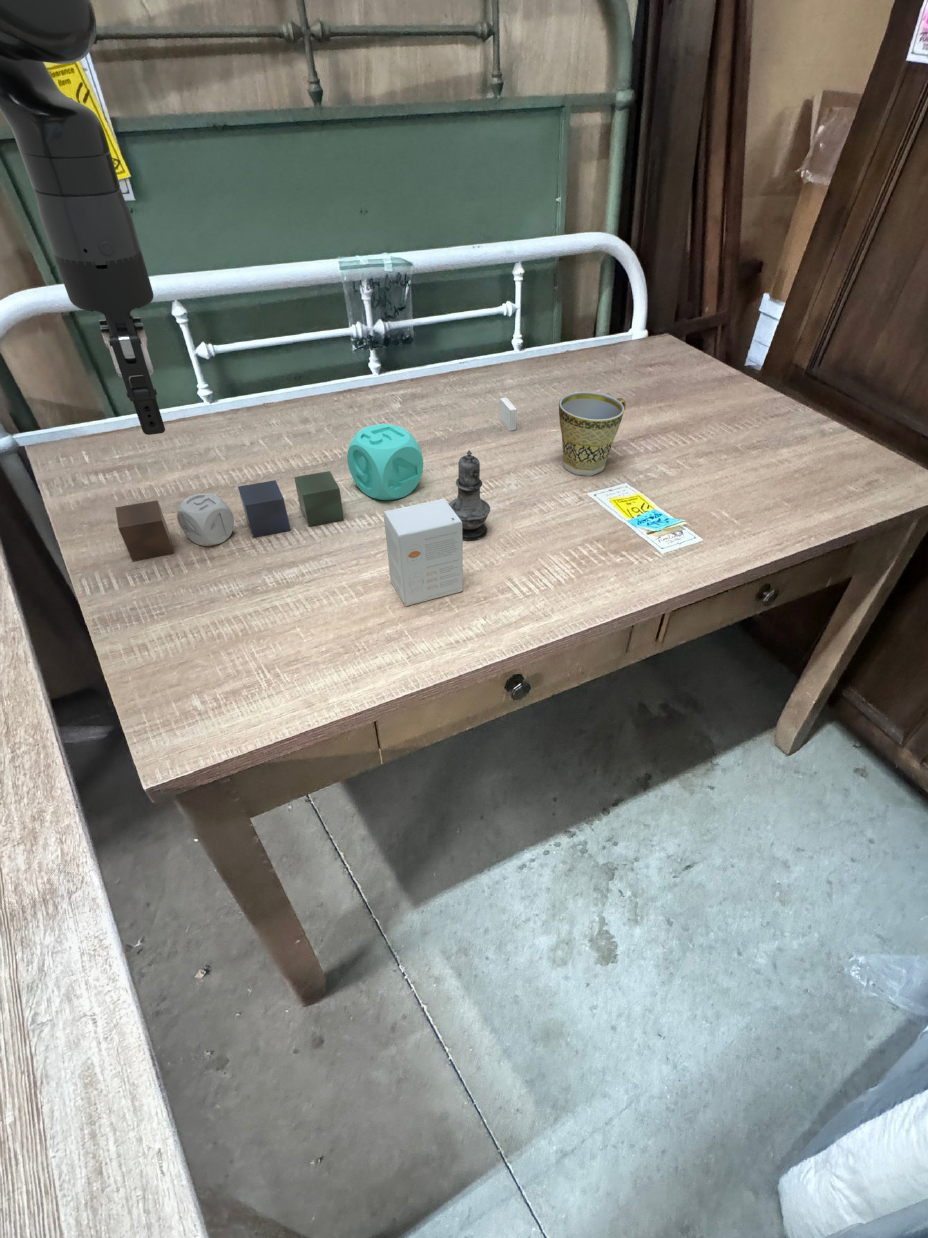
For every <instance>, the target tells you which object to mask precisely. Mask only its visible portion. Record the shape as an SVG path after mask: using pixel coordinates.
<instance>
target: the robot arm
mask: <svg viewBox="0 0 928 1238" xmlns="http://www.w3.org/2000/svg"><path fill="white" fill-rule="evenodd" d="M96 36H97V18H96V12H95V9H94V5H93V2H92V0H0V112H1V114H2V115H3V117H4V119H5V121H6V122H7V124H8V125H9V128H10V129H11V131H12V134H13V137H14V139H15V143H16V145H17V148H18V151H19V154H20V157H21V159H22V160H21V161H22V162H23V165H24V168H25V171H26V173H27V177H28V179H29V182H30V184H31V188H32V190H33V194H34V197H35V200H36V204H37V210H38V214H39V218H40V221H41V224H42V227H43V230H44V233H45V236H46V238H47V240H48V241H47V242H48V244H49V246H50V249H51V252H52V255H53V258H54V261H55V263H56V266H57V269H58V271H59V274H60V277H61V279H62V282H63V285H64V288H65V291H66V294H67V297H68V299H69V302H70V303H71V304H72V305H73V306H75V307H76V308H78V309H79V310H82V311H87V312H91V313H93V312H98V313H101V314H103V316H104V318H105V319H98V324H99V327H100V328H99V330H100V333H101V337H102V339H103V342H104V345H105V347H106V348H107V349H108V350H109V353H110V356H111V359H112V362H113V365H114V369H115V372H116V374H117V376H118V377H119V378H121V379H122V380H123V383H124V387H125V390H126V392H125V394H126V397H127V399H129V401H130V402H132V404H133V407H134V409H135V413H136V415H137V419H138V422H139V425H140V427H141V430H142V432H143V434H144V435H147V436H151V435H158V434H164V433H165V431H166V427H165V424H164V420H163V417H162V414H161V411H160V408H159V404H158V401H157V399H158V398H157V395H158V392H157V389H156V388H155V387H154V384H153V381H152V378H151V377H152V375H153V374H154V373H155V370H154V369H155V368H154V367H153V363H152V360H151V356H150V353H149V349H148V345H149V341H148V337H147V334H146V331H145V327H144V324H143V321H142V317H140V316H138V317H137V316H136V317H134V316H133V313H132V311H133V310H136V309H142V308H145V307H147V306H148V305H150V304H151V302H153V300H154V291H153V287H152V283H151V280H150V276H149V273H148V269H147V266H146V262H145V258H144V255H143V252H142V248H141V244H140V241H139V238H138V237H139V236H138V233H137V230H136V227H135V224H134V221H133V217H132V215H131V211H130V210H129V207H128V204H127V202H126V200H125V197H124V194H123V191H122V188H121V184H120V181H119V178H118V173H117V170H116V168H115V163H114V159H113V156H112V152H111V149H110V146H109V142H108V139H107V135H106V132H105V130H104V127H103V124H102V122H101V120H100V118H99V117H98V115H97V114H96V113H95V111H93V110H92V109H91V108H90V107H88V106H86V105H84V104H83V103H80V102H79V101H77V100H74V99H72V98H71V97H69V96H68V95H66V94H65V93H63V92H62V91H61V89H59V87H58V85H57V84H56V82H55V80H54V79H53V77H52V75H51V73H50V71H49V70H48V68H47V66H46V64H45V63H50V64H57V65H69V64H74V63H77V62H79V61H81V60H83V59H85V58H86V57H87V56H88V55H89V54H90V51H91V50H92V49H93V46H94V44H95V41H96Z"/></svg>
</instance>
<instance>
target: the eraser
mask: <svg viewBox="0 0 928 1238" xmlns="http://www.w3.org/2000/svg"><path fill="white" fill-rule="evenodd" d="M498 412H499V413H498V415H499V417H498V418H499V420H500V422H501V423H502V424H503V425H504V426H505V427H506V429H507V430H508V432H512V431H516V430H517V415H518V408H516V406H515V405H514V404H513V403H512V402H511V401H510V399H508V397H500V398H499V411H498Z"/></svg>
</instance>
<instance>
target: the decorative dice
mask: <svg viewBox="0 0 928 1238" xmlns="http://www.w3.org/2000/svg"><path fill="white" fill-rule="evenodd" d="M346 460H347V466H348V470H349V472H350V475H351V477H352V479H353V482H355V485H356V486H357V487H358V489H359V490H360V491H361V492H362V493H363V494H364V495H366V496H368V497H369V498H372V499H375V500H379V501H394V500H399V499H403V498H405V497H406V496H409V494H411V493H412V492H413V491H414V490H415V489H416V487H417V486H418V485H419V483H420V481H421V478H422V475H423V472H424V458H423V453H422V450H421V447H420V445H419V443H418V442H417V440H416V438H415V437H414V436H413V435H412V434H411V432H409V431H408V430H407V429H405V428H404V427H403V426H399V425H395V424H390V423H378V424H372V425H368V426H365V427H363V428H361V429H360V430H359V431H358V432H357V433H356V434H355V435H354V436H353V438H352V439H351V442H350V443H349V445H348V450H347V454H346Z"/></svg>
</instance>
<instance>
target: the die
mask: <svg viewBox="0 0 928 1238" xmlns="http://www.w3.org/2000/svg"><path fill="white" fill-rule="evenodd" d="M176 515H177V516H176V519H177V523H178V525H179V528H180V529H181V530H182V532H183V533H184V534H185V536H186V537H187V538H188V539H189V540H190V541H192V542H193V543H194V544H197V545H199V546H204V547H211V546H212V547H213V546H217V545H219V544H222V543H224V542H226V541H227V540H228V539H229V537H230V536H231V535H232V533H233V531H234V527H235V518H234V514H233V512H232V509H230V507H229V505H228V504H227V503H226V502H225V501H224V500H223V499H222V498H221V497H220V496H218V495H216V494H214V493H210V492H209V493H208V492H207V493H205V492H202V493H195V494H192V495H189V496H187V497H186V498H184V499H183V500H182V502H181V503H180V505H179V506H178V509H177V512H176Z"/></svg>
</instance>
